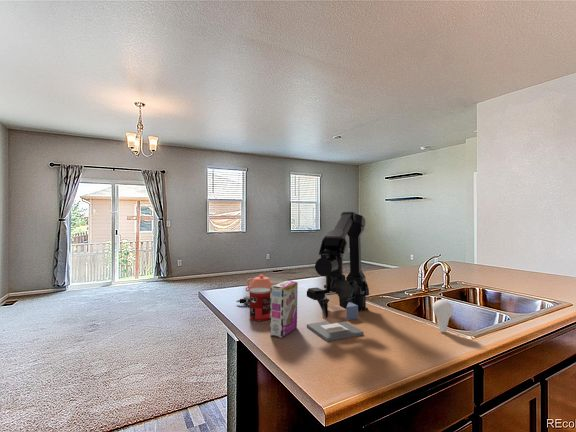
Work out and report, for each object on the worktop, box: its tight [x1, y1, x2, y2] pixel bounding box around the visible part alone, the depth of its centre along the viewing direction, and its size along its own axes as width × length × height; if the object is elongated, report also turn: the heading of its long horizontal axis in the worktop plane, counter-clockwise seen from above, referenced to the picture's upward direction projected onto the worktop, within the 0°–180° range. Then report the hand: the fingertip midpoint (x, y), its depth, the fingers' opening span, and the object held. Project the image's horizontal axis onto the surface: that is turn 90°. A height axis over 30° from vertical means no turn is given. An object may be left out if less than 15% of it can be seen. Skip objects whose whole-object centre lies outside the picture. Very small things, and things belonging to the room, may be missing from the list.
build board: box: [306, 320, 364, 342], centre depth 107 cm, size 14×14×1 cm
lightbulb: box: [432, 299, 454, 333], centre depth 105 cm, size 6×6×11 cm
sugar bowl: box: [245, 274, 273, 295], centre depth 155 cm, size 12×14×10 cm
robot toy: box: [236, 294, 271, 306], centre depth 137 cm, size 12×4×15 cm
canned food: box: [249, 288, 271, 322], centre depth 120 cm, size 8×8×11 cm
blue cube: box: [346, 302, 359, 321], centre depth 121 cm, size 5×5×5 cm
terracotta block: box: [321, 304, 348, 324], centre depth 107 cm, size 6×6×4 cm
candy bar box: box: [269, 280, 299, 339], centre depth 106 cm, size 11×5×16 cm, turn 152°
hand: (334, 316), depth 107 cm, fingers closed on terracotta block, 6 cm apart
